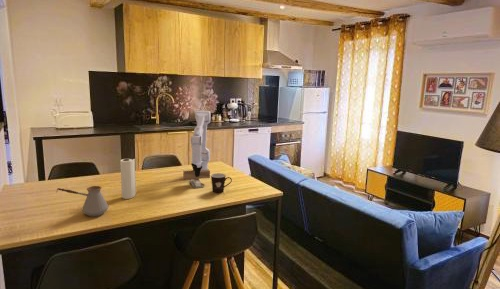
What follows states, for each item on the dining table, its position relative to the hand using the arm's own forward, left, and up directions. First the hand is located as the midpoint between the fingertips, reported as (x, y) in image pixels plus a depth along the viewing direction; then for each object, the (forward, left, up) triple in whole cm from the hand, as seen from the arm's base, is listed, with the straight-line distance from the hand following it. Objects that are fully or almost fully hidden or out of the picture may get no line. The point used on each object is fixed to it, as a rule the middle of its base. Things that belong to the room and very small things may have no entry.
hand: (196, 175), depth 205 cm
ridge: (0, 0, -6) cm, 6 cm away
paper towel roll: (+13, -40, -6) cm, 42 cm away
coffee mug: (+17, +11, -6) cm, 21 cm away
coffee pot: (+32, -60, -6) cm, 68 cm away
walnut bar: (0, 0, -2) cm, 2 cm away
